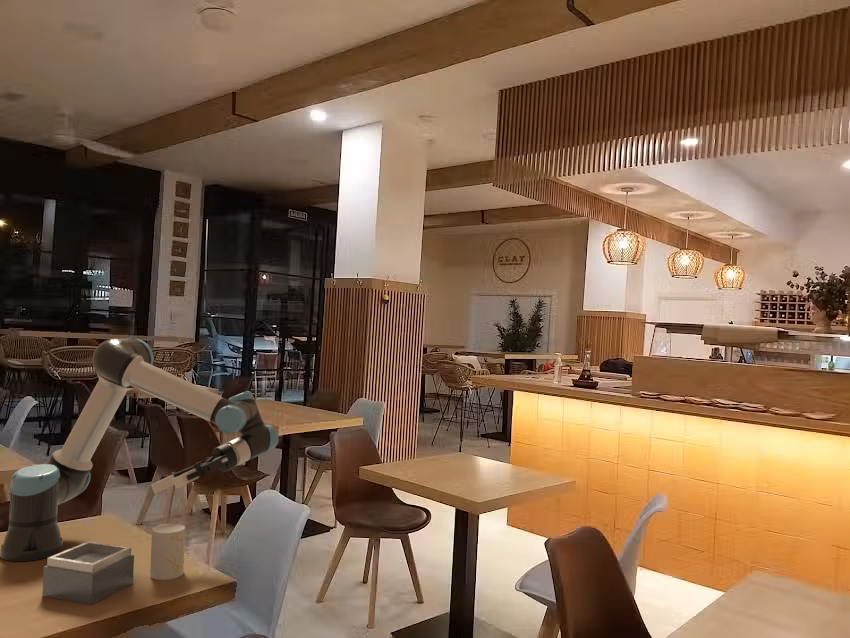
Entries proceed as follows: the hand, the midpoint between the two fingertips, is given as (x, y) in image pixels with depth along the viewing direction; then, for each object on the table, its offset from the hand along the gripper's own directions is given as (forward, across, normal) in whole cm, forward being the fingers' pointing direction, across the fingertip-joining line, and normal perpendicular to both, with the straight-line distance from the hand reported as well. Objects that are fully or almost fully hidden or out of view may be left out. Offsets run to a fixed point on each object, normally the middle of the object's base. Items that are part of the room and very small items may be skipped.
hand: (163, 486), depth 175 cm
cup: (+6, +3, -22) cm, 23 cm away
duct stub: (+24, +5, -16) cm, 29 cm away
